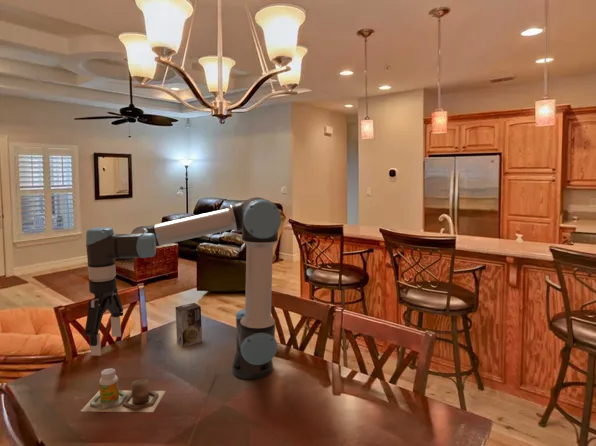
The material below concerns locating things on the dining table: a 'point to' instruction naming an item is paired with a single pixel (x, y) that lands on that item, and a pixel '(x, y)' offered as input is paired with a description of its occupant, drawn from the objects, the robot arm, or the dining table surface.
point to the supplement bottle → (108, 387)
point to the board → (124, 403)
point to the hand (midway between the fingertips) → (106, 345)
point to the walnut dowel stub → (140, 391)
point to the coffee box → (188, 324)
